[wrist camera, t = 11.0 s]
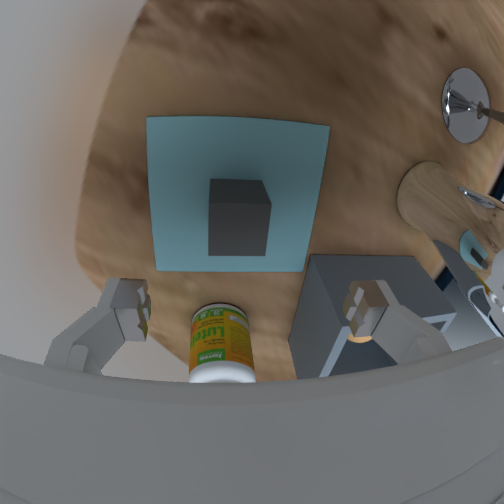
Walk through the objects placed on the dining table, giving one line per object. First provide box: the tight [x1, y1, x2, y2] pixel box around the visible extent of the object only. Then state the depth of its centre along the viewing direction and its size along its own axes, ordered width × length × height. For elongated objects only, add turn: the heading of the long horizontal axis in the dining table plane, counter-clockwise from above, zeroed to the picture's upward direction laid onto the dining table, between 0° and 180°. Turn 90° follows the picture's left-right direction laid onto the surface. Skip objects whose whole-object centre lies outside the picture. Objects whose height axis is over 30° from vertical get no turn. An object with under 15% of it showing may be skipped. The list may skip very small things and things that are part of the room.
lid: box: [147, 116, 330, 272], centre depth 19 cm, size 12×12×5 cm
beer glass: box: [397, 161, 504, 337], centre depth 15 cm, size 7×7×15 cm
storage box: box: [288, 255, 457, 379], centre depth 24 cm, size 11×11×8 cm
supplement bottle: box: [189, 304, 256, 383], centre depth 23 cm, size 5×5×10 cm
